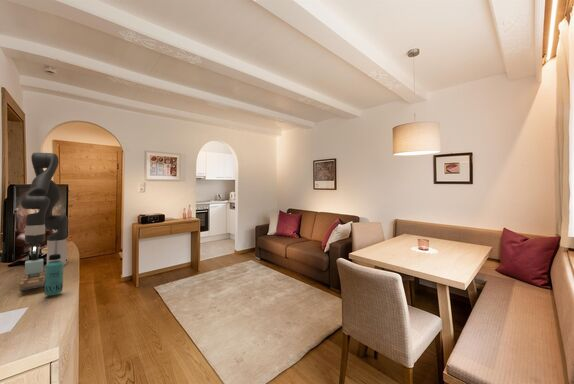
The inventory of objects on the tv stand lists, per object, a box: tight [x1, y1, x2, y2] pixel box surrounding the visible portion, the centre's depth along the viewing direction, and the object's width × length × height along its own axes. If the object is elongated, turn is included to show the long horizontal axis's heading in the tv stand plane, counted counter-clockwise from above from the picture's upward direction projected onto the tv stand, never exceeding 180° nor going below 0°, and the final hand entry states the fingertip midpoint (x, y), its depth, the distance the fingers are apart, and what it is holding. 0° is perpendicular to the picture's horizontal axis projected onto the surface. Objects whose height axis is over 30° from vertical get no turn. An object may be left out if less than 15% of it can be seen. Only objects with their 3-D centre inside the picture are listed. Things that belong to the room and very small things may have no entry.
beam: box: [19, 267, 46, 292], centre depth 126 cm, size 24×10×8 cm, turn 45°
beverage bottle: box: [43, 254, 64, 296], centre depth 117 cm, size 6×7×20 cm
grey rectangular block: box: [24, 258, 44, 277], centre depth 125 cm, size 5×6×8 cm
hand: (34, 265), depth 128 cm, fingers closed
